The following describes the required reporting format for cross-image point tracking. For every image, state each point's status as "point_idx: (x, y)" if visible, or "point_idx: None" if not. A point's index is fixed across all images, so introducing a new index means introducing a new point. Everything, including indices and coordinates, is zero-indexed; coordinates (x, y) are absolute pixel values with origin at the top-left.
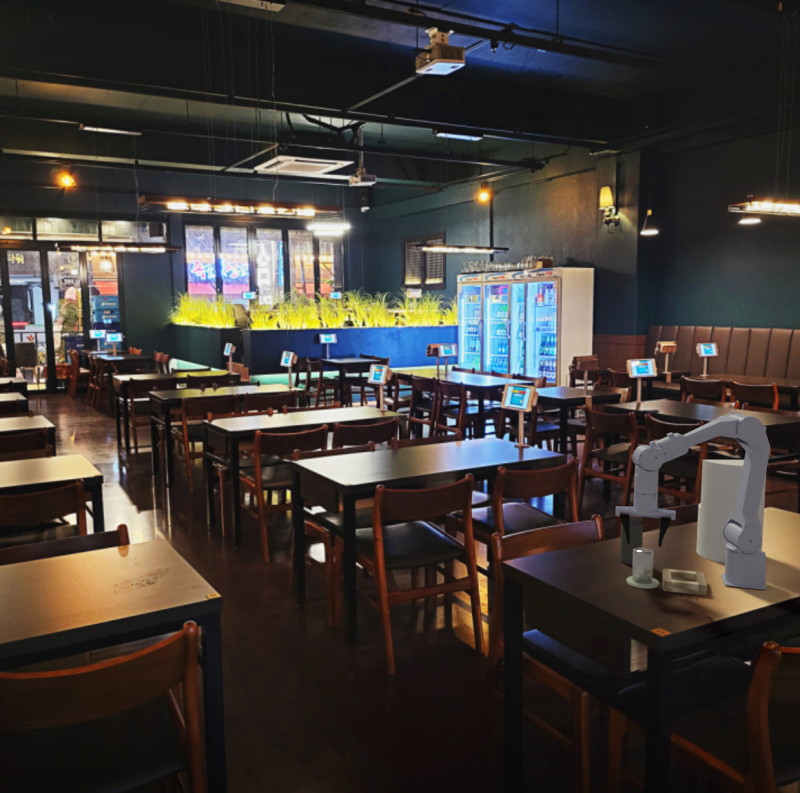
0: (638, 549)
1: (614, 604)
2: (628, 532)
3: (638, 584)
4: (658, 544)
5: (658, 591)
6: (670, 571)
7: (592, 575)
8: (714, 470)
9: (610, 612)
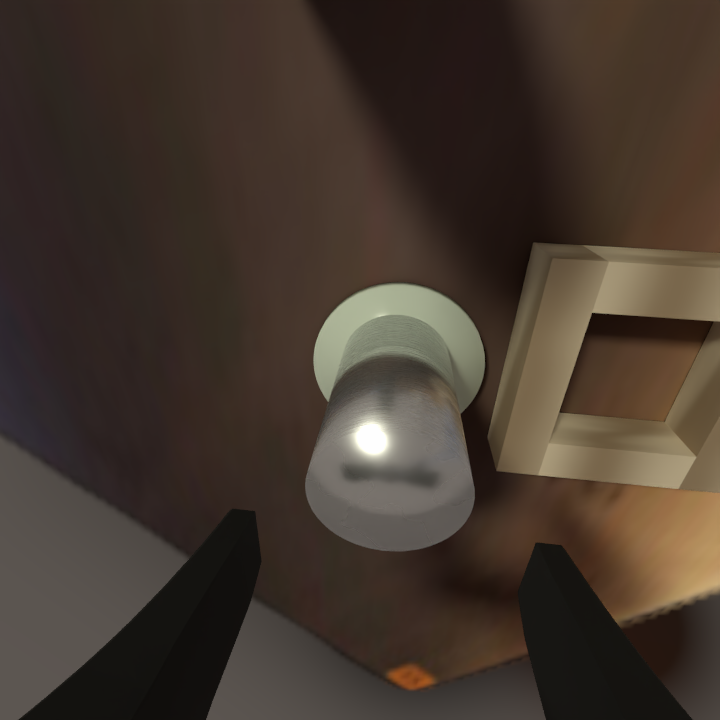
0: (349, 476)
1: (284, 566)
2: (199, 710)
3: None
4: (527, 589)
5: None
6: (590, 315)
7: (139, 304)
8: None
9: (278, 609)
